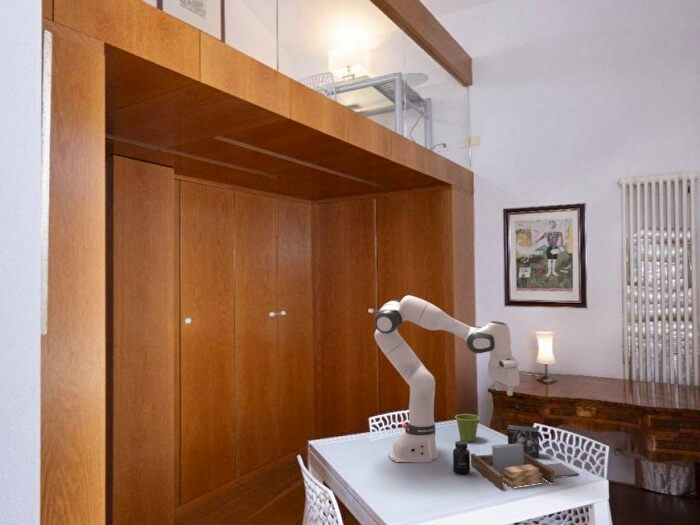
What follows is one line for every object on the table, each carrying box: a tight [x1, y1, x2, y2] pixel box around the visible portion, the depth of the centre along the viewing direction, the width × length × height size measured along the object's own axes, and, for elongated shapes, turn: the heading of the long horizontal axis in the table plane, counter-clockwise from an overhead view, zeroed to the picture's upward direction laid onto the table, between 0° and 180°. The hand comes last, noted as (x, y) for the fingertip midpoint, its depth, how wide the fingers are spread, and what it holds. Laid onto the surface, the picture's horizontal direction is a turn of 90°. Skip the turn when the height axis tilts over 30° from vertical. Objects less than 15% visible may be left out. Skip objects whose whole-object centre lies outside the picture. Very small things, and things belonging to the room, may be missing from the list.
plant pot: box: [454, 413, 480, 443], centre depth 246 cm, size 12×12×11 cm
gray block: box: [491, 443, 524, 476], centre depth 202 cm, size 12×3×11 cm, turn 101°
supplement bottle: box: [452, 440, 471, 476], centre depth 204 cm, size 7×7×12 cm
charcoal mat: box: [544, 462, 580, 478], centre depth 203 cm, size 12×12×1 cm
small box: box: [507, 424, 540, 460], centre depth 223 cm, size 13×7×12 cm, turn 70°
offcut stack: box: [503, 464, 544, 489], centre depth 192 cm, size 14×6×6 cm, turn 106°
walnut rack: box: [470, 452, 555, 490], centre depth 201 cm, size 22×26×5 cm
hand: (504, 392), depth 210 cm, fingers open, 8 cm apart
